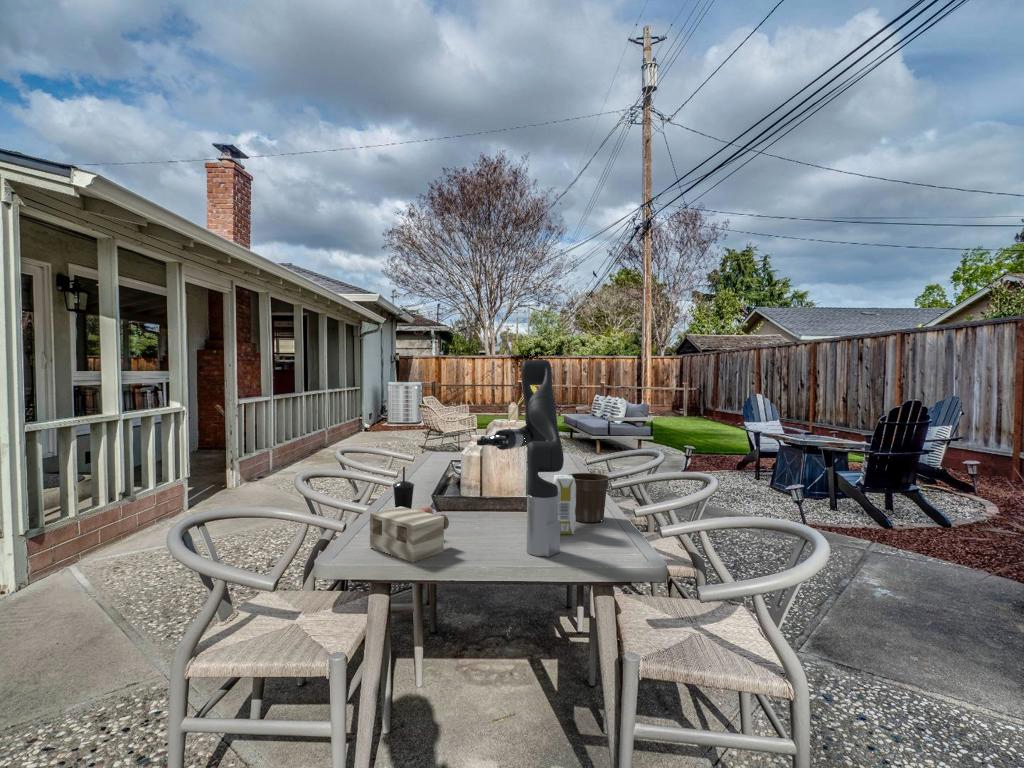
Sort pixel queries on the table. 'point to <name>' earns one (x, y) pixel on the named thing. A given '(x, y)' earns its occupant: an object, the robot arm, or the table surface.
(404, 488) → the drinking cup
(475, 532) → the table surface
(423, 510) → the terracotta plug
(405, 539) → the walnut plug
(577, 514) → the plant pot
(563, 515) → the juice carton
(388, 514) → the socket block
